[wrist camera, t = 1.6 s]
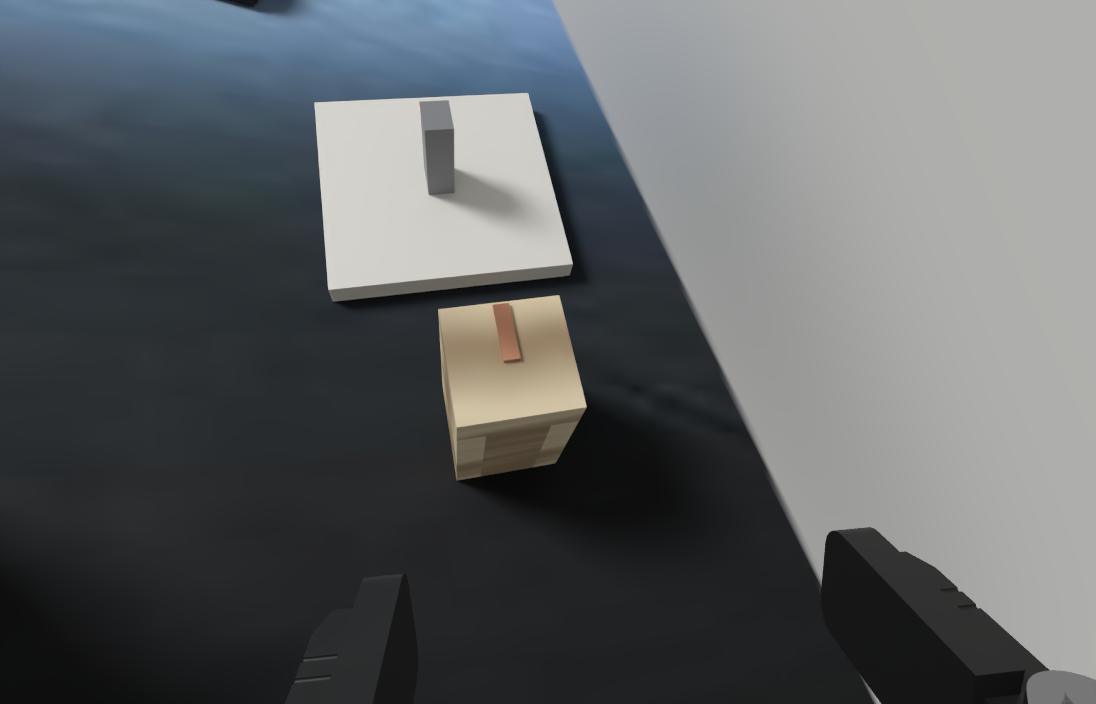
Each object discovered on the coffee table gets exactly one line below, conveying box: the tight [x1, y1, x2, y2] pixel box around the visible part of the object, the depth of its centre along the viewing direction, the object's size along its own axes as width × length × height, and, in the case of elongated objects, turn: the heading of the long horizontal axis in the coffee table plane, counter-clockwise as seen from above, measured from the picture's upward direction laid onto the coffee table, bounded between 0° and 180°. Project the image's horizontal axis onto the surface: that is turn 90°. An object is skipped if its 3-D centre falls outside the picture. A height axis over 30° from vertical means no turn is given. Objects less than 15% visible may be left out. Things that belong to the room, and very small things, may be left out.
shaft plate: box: [315, 93, 573, 302], centre depth 41 cm, size 16×16×8 cm
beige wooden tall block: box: [438, 295, 587, 480], centre depth 33 cm, size 6×6×10 cm
